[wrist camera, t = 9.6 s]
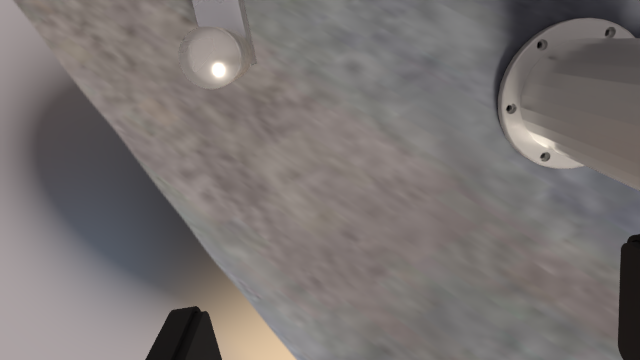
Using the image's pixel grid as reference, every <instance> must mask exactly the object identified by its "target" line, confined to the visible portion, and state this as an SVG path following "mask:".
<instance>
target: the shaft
mask: <svg viewBox="0 0 640 360" xmlns="http://www.w3.org/2000/svg"><path fill="white" fill-rule="evenodd" d="M192 2H193V7H194V11H195V15H196V19H197V23H198V27H199V28H196V29H194V30H192V31H190V32H189V33H188V34H187V35H186V36H185V37H184V39H183V40H182V42H181V44H180V47H179V55H178V56H179V64H180V67H181V69H182V71H183V73H184V74H185V76H186V77H187V78H188V79H189V80H190V81H191V82H192V83H194V84H195V85H197V86H199V87H202V88H206V89H217V88H221V87H223V86H225V85H227V84H229V83H230V82H232V81H234V80H236V79H237V78H239V77H241V76H242V75H244V74H245V73H246V72H247V71H248V69H249V67H250V66H251V65H254V64H256V63H257V61H256V56H255V51H254V47H253V42H252V37H251V33H250V28H249V23H248V19H247V14H246V9H245V5H244V0H192Z"/></svg>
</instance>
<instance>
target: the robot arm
mask: <svg viewBox="0 0 640 360" xmlns="http://www.w3.org/2000/svg"><path fill="white" fill-rule="evenodd" d="M605 31H606V34H605ZM538 42H539V43H540V45H539V47H538V48H537V43H538ZM508 105H509V106H510V107H509V109H508V110H506V108H507V106H508ZM498 115H499V119H500V124H501V127H502V129H503V132H504V134H505V136H506V138H507V139H508V141H509V142H510V143H511V145H512V146H513V147H514V148H515V149H516V150H517V151H518V152H519V153H520V154H521V155H523V156H525V157H526V158H528V159H529V160H531V161H533V162H535V163H537V164H540V165H542V166H546V167H551V168H556V169H570V168H576V167H582V166H587V167H589V168H591V169H594V170H596V171H598V172H600V173H602V174H604V175H606V176H609V177H611V178H613V179H615V180H617V181H619V182H622V183H624V184H626V185H628V186H630V187H632V188H634V189H637V190H639V191H640V38H635V37H634V36H633V35H632V34H631V33H630V32H629V31H628V30H626V29H625V28H623V27H622V26H620V25H618V24H616V23H613V22H610V21H607V20H604V19H596V18H577V19H572V20H566V21H562V22H559V23H557V24H554V25H552V26H549V27H547V28H545V29H544V30H542V31H541V32H539V33H537V34H536V35H534V36H533V37H532V38H531V39H530V40H528V41H527V42H526V43H525V44H524V45H523V46H522V47H521V48H520V50H519V51H518V52H517V53H516V54H515V56H514V57H513V58H512V60H511V62H510V64H509V65H508V67H507V69H506V71H505V73H504V76H503V79H502V81H501V84H500V90H499V95H498ZM542 153H543V155H542ZM541 155H542V156H541ZM618 348H619V352H620V354H621V356H622V358H623V360H640V234H638V235H632V236H631V237H629V239H628V241H627V243H625V244H623V246H622V247H621V264H620V295H619V327H618ZM145 360H222V358H221V355H220V351H219V348H218V344H217V341H216V337H215V334H214V330H213V327H212V323H211V320H210V317H209V314H208V312H206V311H204V312H201V311H200V309H199V308H198V307H197V306H195V307H188V308H182V309H176V310H172V311H171V312H170V313H169V315H168V317H167V319H166V321H165V323H164V325H163V327H162V329H161V331H160V332H159V334H158V336H157V338H156V340H155V342H154V344H153V346H152V348H151V350H150V352H149V354H148V356H147V358H146V359H145Z"/></svg>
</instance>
